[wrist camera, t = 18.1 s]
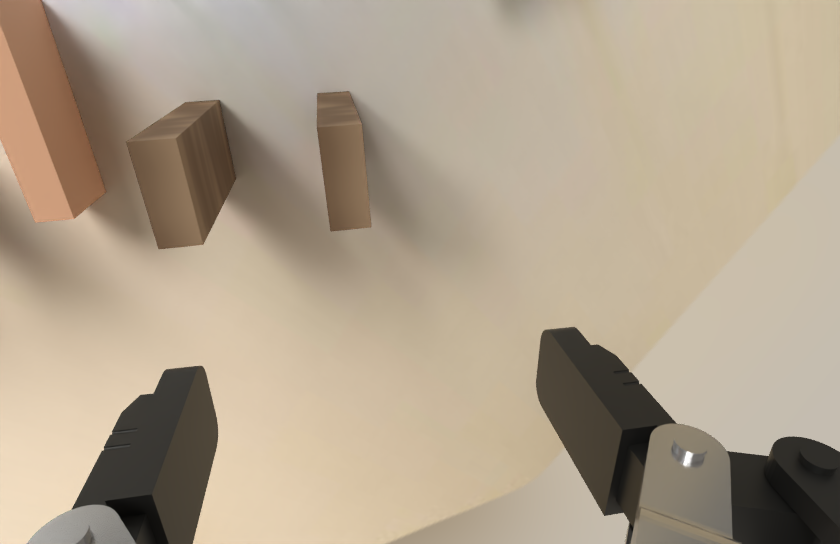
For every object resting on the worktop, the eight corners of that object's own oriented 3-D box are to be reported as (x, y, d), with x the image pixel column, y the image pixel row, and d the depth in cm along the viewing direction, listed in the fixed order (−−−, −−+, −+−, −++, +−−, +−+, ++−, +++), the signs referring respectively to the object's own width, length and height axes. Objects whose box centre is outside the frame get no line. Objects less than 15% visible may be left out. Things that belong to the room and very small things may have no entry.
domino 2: (219, 100, 32) (175, 138, 22) (235, 178, 34) (203, 244, 24) (185, 102, 31) (126, 141, 22) (204, 181, 34) (158, 249, 24)
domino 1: (106, 191, 33) (41, -2, 28) (74, 218, 29) (-11, -5, 24) (73, 194, 33) (1, -1, 28) (35, 222, 28) (-59, -3, 23)
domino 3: (348, 91, 33) (362, 124, 23) (356, 168, 35) (371, 227, 25) (317, 93, 32) (317, 127, 23) (327, 170, 35) (330, 231, 25)
